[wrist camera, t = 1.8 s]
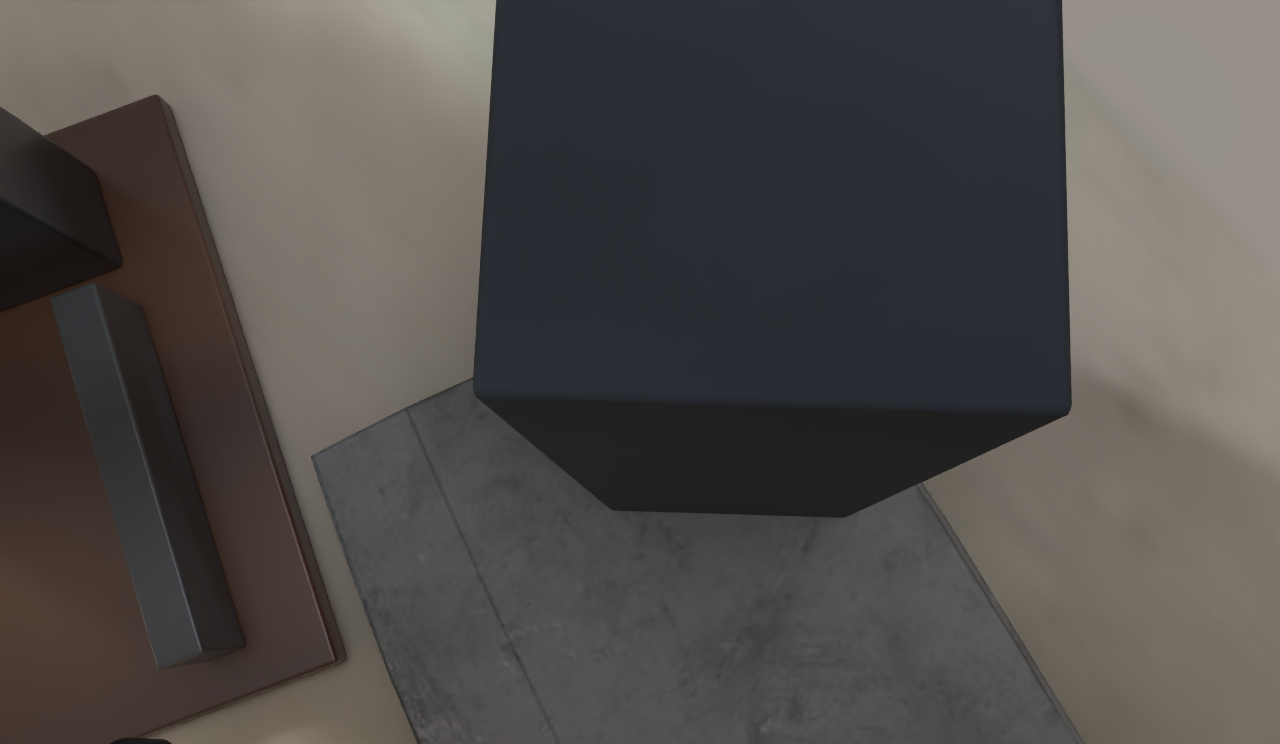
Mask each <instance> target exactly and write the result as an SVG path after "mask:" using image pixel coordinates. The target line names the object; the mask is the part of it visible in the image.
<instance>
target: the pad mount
mask: <svg viewBox="0 0 1280 744" xmlns="http://www.w3.org/2000/svg"><path fill="white" fill-rule="evenodd" d="M345 660H346V655H345V652H344V648H343V645H342V642H341V639H340V636H339V633H338V630H337V627H336V623H335V620H334V617H333V614H332V611H331V608H330V605H329V602H328V598H327V595H326V592H325V589H324V586H323V583H322V580H321V577H320V573H319V570H318V567H317V564H316V561H315V558H314V555H313V552H312V548H311V545H310V542H309V539H308V536H307V533H306V530H305V527H304V523H303V520H302V517H301V514H300V511H299V508H298V505H297V502H296V498H295V495H294V492H293V489H292V486H291V483H290V480H289V477H288V473H287V470H286V467H285V464H284V461H283V458H282V455H281V452H280V448H279V445H278V442H277V439H276V436H275V433H274V430H273V427H272V423H271V420H270V417H269V414H268V411H267V408H266V405H265V402H264V398H263V395H262V392H261V389H260V386H259V383H258V380H257V377H256V373H255V370H254V367H253V364H252V361H251V358H250V355H249V352H248V348H247V345H246V342H245V339H244V336H243V333H242V330H241V327H240V323H239V320H238V317H237V314H236V311H235V308H234V305H233V302H232V298H231V295H230V292H229V289H228V286H227V283H226V280H225V277H224V273H223V270H222V267H221V264H220V261H219V258H218V255H217V252H216V248H215V245H214V242H213V239H212V236H211V233H210V230H209V227H208V223H207V220H206V217H205V214H204V211H203V208H202V205H201V202H200V198H199V195H198V192H197V189H196V186H195V183H194V180H193V177H192V173H191V170H190V167H189V164H188V161H187V158H186V155H185V152H184V148H183V145H182V142H181V139H180V136H179V133H178V130H177V127H176V123H175V120H174V117H173V114H172V111H171V108H170V106H169V105H168V104H167V103H166V102H165V101H164V100H163V99H162V98H161V97H159V96H158V95H152V96H149V97H147V98H144V99H141V100H139V101H136V102H133V103H131V104H128V105H125V106H122V107H120V108H117V109H114V110H112V111H109V112H106V113H104V114H101V115H98V116H96V117H93V118H90V119H88V120H85V121H82V122H80V123H77V124H74V125H72V126H69V127H66V128H63V129H61V130H58V131H55V132H53V133H50V134H47V135H45V136H43V135H42V134H40V133H39V132H37V131H36V130H34V129H33V128H31V127H30V126H28V125H27V124H25V123H24V122H22V121H21V120H20V119H18V118H17V117H15V116H14V115H12V114H11V113H9V112H8V111H6V110H5V109H3V108H2V107H0V744H110V743H112V742H113V741H115V740H118V739H121V738H127V737H128V738H144V737H147V736H150V735H152V734H155V733H157V732H160V731H163V730H165V729H168V728H171V727H173V726H176V725H178V724H181V723H184V722H186V721H189V720H192V719H194V718H197V717H200V716H202V715H205V714H207V713H210V712H213V711H215V710H218V709H221V708H223V707H226V706H228V705H231V704H234V703H236V702H239V701H242V700H244V699H247V698H249V697H252V696H255V695H257V694H260V693H263V692H265V691H268V690H271V689H273V688H276V687H278V686H281V685H284V684H286V683H289V682H292V681H294V680H297V679H299V678H302V677H305V676H307V675H310V674H313V673H315V672H318V671H320V670H323V669H326V668H328V667H331V666H334V665H336V664H339V663H342V662H344V661H345Z"/></svg>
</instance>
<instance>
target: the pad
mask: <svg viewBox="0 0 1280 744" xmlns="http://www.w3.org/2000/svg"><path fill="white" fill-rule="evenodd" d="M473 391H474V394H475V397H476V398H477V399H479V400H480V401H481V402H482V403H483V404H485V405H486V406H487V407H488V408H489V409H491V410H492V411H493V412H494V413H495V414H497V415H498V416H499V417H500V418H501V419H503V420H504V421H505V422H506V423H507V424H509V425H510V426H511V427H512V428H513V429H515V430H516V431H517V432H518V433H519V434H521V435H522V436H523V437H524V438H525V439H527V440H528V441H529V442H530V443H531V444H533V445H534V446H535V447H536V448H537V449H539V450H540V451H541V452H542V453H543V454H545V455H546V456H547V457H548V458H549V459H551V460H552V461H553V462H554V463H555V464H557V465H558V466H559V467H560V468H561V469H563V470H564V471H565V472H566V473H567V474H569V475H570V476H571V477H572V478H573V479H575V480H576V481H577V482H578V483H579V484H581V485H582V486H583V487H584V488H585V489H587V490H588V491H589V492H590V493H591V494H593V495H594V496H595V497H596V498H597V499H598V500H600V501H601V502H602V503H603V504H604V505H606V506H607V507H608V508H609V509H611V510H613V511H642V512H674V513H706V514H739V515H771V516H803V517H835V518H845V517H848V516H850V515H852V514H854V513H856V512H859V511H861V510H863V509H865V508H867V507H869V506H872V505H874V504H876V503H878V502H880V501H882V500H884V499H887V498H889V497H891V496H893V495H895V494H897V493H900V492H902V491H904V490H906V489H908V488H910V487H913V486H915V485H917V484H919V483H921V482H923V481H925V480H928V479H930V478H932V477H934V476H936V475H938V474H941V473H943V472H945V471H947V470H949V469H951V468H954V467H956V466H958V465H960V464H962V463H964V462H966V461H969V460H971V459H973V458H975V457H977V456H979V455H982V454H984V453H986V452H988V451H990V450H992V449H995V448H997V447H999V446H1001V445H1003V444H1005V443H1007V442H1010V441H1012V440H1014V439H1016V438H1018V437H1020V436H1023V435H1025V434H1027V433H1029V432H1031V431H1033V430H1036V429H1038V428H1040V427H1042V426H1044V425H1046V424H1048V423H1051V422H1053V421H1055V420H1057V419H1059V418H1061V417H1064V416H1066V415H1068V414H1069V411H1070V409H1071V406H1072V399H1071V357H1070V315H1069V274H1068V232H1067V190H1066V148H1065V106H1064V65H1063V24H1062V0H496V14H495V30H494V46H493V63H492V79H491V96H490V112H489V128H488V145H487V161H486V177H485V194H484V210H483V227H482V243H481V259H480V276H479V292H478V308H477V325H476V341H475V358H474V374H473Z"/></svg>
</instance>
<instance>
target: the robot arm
mask: <svg viewBox="0 0 1280 744" xmlns="http://www.w3.org/2000/svg"><path fill="white" fill-rule="evenodd" d="M110 744H171V743H170V742H169V741H167V740H163V739H147V738H128V737H127V738H121V739H118V740H115V741H113V742H112V743H110Z"/></svg>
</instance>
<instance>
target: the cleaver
mask: <svg viewBox="0 0 1280 744" xmlns="http://www.w3.org/2000/svg"><path fill="white" fill-rule="evenodd" d="M311 458H312V461H313V464H314V467H315V470H316V473H317V476H318V479H319V482H320V484H321V487H322V490H323V493H324V496H325V499H326V502H327V505H328V508H329V511H330V514H331V516H332V519H333V522H334V525H335V528H336V531H337V534H338V537H339V540H340V543H341V546H342V548H343V551H344V554H345V557H346V560H347V563H348V566H349V569H350V571H351V574H352V577H353V579H354V582H355V585H356V587H357V590H358V593H359V595H360V598H361V601H362V604H363V606H364V609H365V612H366V614H367V617H368V620H369V622H370V625H371V628H372V630H373V633H374V636H375V638H376V641H377V644H378V647H379V649H380V652H381V655H382V657H383V660H384V663H385V665H386V668H387V671H388V673H389V676H390V679H391V681H392V683H393V686H394V688H395V690H396V693H397V695H398V697H399V700H400V702H401V705H402V707H403V709H404V712H405V714H406V716H407V719H408V721H409V723H410V726H411V728H412V730H413V733H414V735H415V738H416V740H417V742H418V744H1085V743H1084V741H1083V740H1082V738H1081V737H1080V735H1079V733H1078V732H1077V730H1076V728H1075V727H1074V725H1073V724H1072V722H1071V720H1070V719H1069V717H1068V715H1067V714H1066V712H1065V711H1064V709H1063V707H1062V706H1061V704H1060V702H1059V701H1058V699H1057V697H1056V696H1055V694H1054V693H1053V691H1052V689H1051V688H1050V686H1049V684H1048V683H1047V681H1046V680H1045V678H1044V676H1043V675H1042V673H1041V671H1040V670H1039V668H1038V667H1037V665H1036V663H1035V662H1034V660H1033V658H1032V657H1031V655H1030V653H1029V652H1028V650H1027V649H1026V647H1025V645H1024V644H1023V642H1022V640H1021V639H1020V637H1019V636H1018V634H1017V632H1016V631H1015V629H1014V627H1013V626H1012V624H1011V622H1010V621H1009V619H1008V618H1007V616H1006V614H1005V613H1004V611H1003V610H1002V608H1001V606H1000V605H999V603H998V601H997V600H996V598H995V597H994V595H993V593H992V592H991V590H990V589H989V587H988V585H987V584H986V582H985V581H984V579H983V577H982V576H981V574H980V573H979V571H978V569H977V568H976V566H975V564H974V563H973V561H972V560H971V558H970V556H969V555H968V553H967V552H966V550H965V548H964V547H963V545H962V544H961V542H960V540H959V539H958V537H957V536H956V534H955V532H954V531H953V529H952V527H951V526H950V524H949V523H948V521H947V519H946V518H945V516H944V515H943V513H942V512H941V510H940V509H939V507H938V506H937V504H936V503H935V501H934V500H933V498H932V497H931V495H930V494H929V492H928V491H927V489H926V488H925V486H924V485H923V483H922V482H921V483H919V484H917V485H915V486H913V487H910V488H908V489H906V490H904V491H902V492H900V493H897V494H895V495H893V496H891V497H889V498H887V499H884V500H882V501H880V502H878V503H876V504H874V505H872V506H869V507H867V508H865V509H863V510H861V511H859V512H856V513H854V514H852V515H850V516H848V517H845V518H835V517H803V516H771V515H739V514H706V513H674V512H642V511H613V510H611V509H609V508H608V507H607V506H606V505H604V504H603V503H602V502H601V501H600V500H598V499H597V498H596V497H595V496H594V495H593V494H591V493H590V492H589V491H588V490H587V489H585V488H584V487H583V486H582V485H581V484H579V483H578V482H577V481H576V480H575V479H573V478H572V477H571V476H570V475H569V474H567V473H566V472H565V471H564V470H563V469H561V468H560V467H559V466H558V465H557V464H555V463H554V462H553V461H552V460H551V459H549V458H548V457H547V456H546V455H545V454H543V453H542V452H541V451H540V450H539V449H537V448H536V447H535V446H534V445H533V444H531V443H530V442H529V441H528V440H527V439H525V438H524V437H523V436H522V435H521V434H519V433H518V432H517V431H516V430H515V429H513V428H512V427H511V426H510V425H509V424H507V423H506V422H505V421H504V420H503V419H501V418H500V417H499V416H498V415H497V414H495V413H494V412H493V411H492V410H491V409H489V408H488V407H487V406H486V405H485V404H483V403H482V402H481V401H480V400H479V399H477V398H476V397H475V394H474V391H473V378H471V379H468V380H466V381H464V382H462V383H460V384H457V385H455V386H453V387H451V388H448V389H446V390H444V391H442V392H440V393H437V394H435V395H433V396H431V397H429V398H426V399H424V400H422V401H420V402H418V403H415V404H413V405H411V406H409V407H407V408H404V409H403V410H401V411H399V412H397V413H395V414H393V415H391V416H389V417H387V418H385V419H383V420H381V421H379V422H377V423H375V424H373V425H371V426H369V427H367V428H365V429H363V430H361V431H359V432H357V433H355V434H353V435H352V436H350V437H348V438H346V439H344V440H342V441H340V442H338V443H336V444H334V445H332V446H330V447H328V448H326V449H324V450H322V451H320V452H318V453H316V454H314V455H313V456H311Z"/></svg>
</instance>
